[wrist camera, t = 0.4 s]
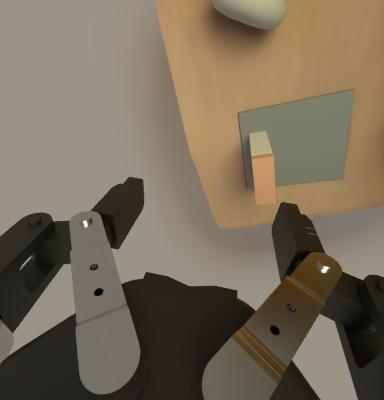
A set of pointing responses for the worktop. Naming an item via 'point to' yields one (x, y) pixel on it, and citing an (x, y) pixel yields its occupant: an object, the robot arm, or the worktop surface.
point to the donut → (253, 11)
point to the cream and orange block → (263, 168)
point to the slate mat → (302, 137)
